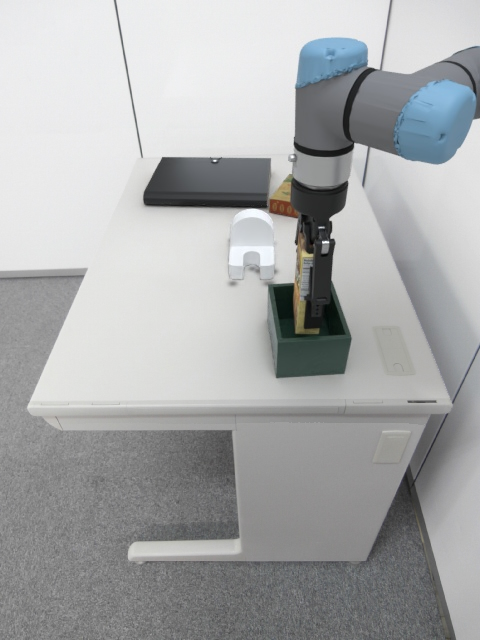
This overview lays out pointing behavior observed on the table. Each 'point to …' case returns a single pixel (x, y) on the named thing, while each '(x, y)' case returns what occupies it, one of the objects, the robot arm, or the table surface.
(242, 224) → the white plastic bracket
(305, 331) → the candy box
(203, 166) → the file folder
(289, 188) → the carton
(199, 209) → the table surface
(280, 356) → the open storage box
